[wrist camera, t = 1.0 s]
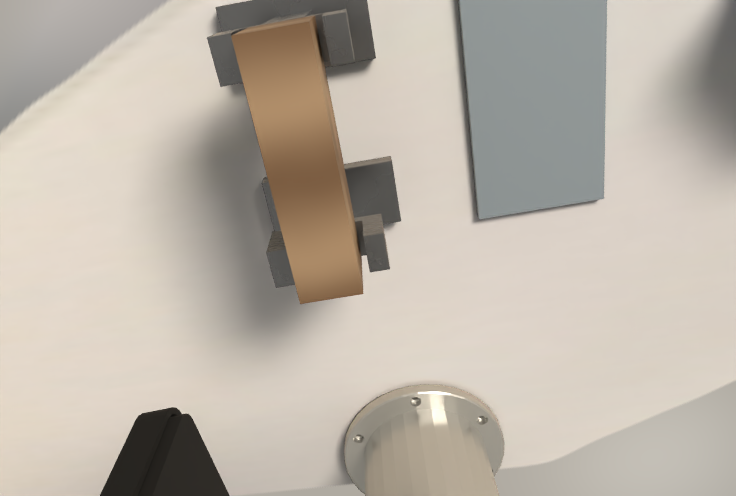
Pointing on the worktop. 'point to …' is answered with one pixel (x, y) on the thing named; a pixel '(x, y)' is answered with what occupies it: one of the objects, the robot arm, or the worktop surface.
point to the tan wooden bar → (302, 155)
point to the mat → (535, 101)
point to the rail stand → (339, 46)
